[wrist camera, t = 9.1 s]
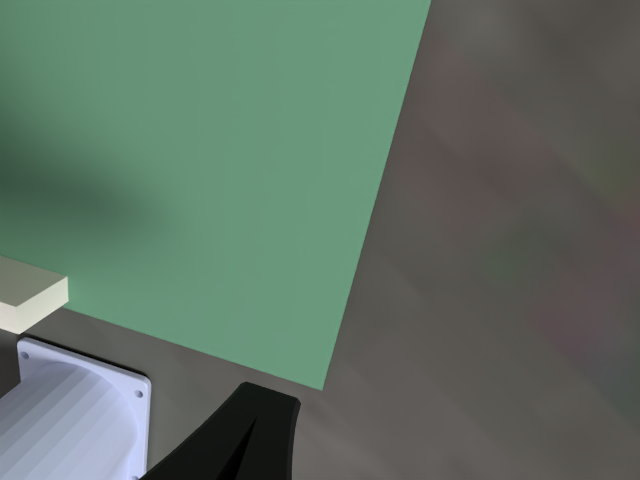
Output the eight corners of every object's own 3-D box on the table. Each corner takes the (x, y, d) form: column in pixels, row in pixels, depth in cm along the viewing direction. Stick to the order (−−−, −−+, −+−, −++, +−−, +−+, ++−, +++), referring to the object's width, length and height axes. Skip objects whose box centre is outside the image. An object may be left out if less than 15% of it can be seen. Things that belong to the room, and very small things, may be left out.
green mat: (323, 384, 21) (321, 390, 21) (-130, 240, 24) (-139, 242, 23) (515, -299, 11) (518, -311, 11) (-297, -410, 14) (-315, -422, 14)
